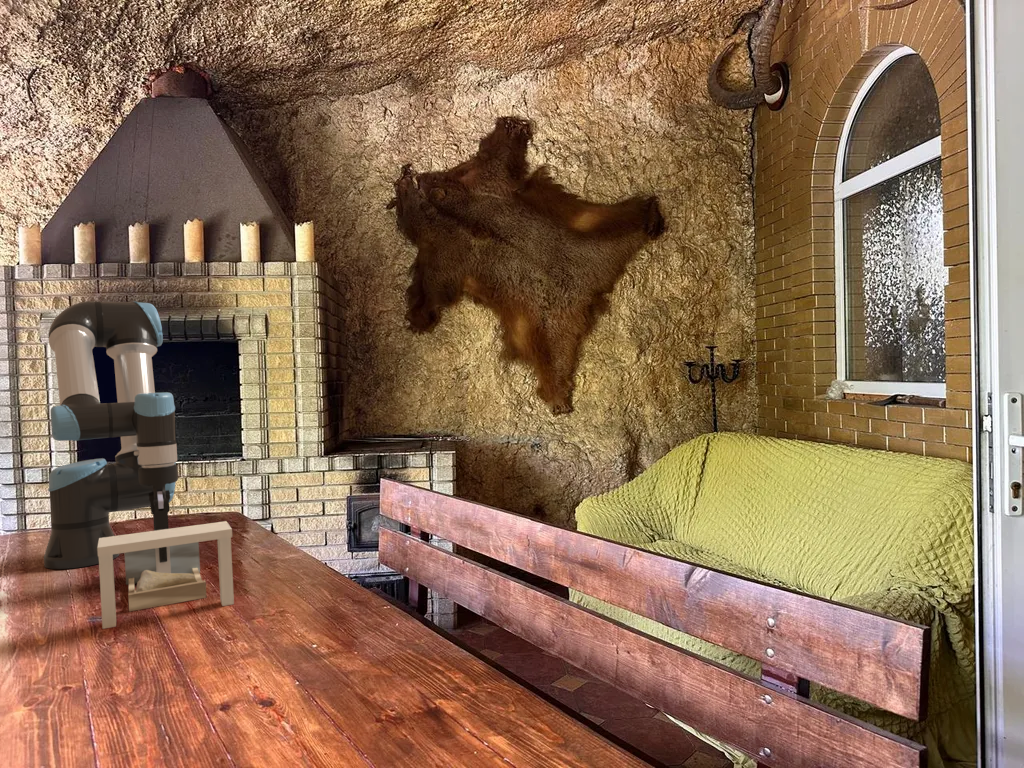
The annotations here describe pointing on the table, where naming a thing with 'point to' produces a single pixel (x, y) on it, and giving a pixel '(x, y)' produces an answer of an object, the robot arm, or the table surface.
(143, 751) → the table surface
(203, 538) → the shelf
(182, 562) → the rock display tray
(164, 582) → the stone
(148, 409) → the robot arm
